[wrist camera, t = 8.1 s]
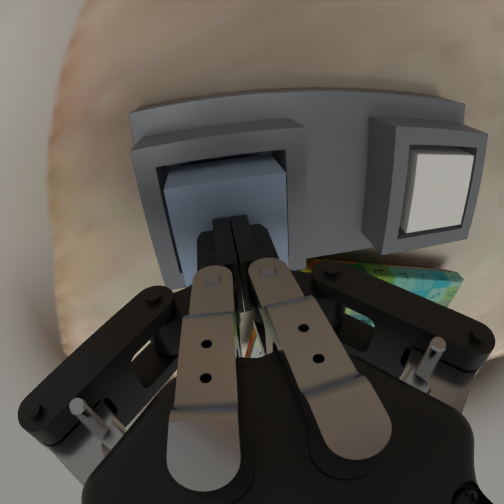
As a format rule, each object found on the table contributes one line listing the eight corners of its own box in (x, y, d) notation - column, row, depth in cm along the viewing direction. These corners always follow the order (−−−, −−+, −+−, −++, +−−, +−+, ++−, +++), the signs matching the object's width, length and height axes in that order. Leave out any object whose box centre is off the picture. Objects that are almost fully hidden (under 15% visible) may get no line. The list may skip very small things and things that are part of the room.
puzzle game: (414, 364, 30) (245, 381, 26) (398, 336, 34) (238, 341, 30) (469, 285, 24) (279, 276, 20) (443, 258, 28) (265, 238, 24)
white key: (445, 142, 17) (474, 155, 15) (436, 205, 20) (460, 224, 18) (389, 140, 17) (417, 154, 14) (383, 211, 20) (406, 233, 17)
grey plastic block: (439, 97, 18) (494, 113, 14) (425, 218, 25) (465, 254, 20) (139, 107, 17) (113, 122, 12) (170, 255, 23) (164, 310, 18)
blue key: (270, 154, 15) (286, 172, 12) (275, 239, 18) (288, 270, 15) (170, 168, 14) (163, 190, 12) (187, 252, 17) (186, 286, 15)
